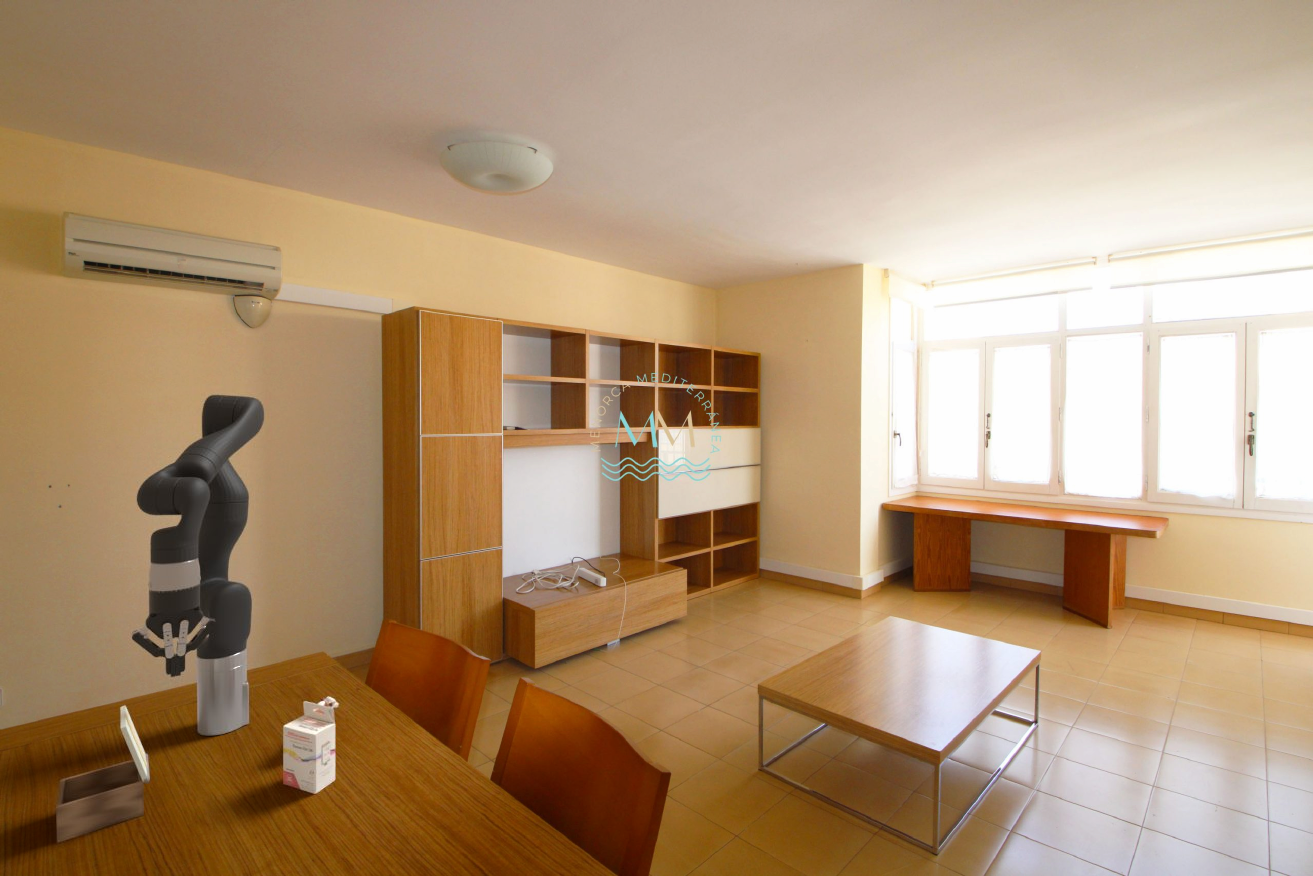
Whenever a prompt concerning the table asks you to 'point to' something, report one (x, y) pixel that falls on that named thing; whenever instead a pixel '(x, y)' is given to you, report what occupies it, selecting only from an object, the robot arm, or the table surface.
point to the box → (98, 800)
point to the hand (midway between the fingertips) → (175, 675)
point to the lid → (134, 745)
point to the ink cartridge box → (310, 749)
